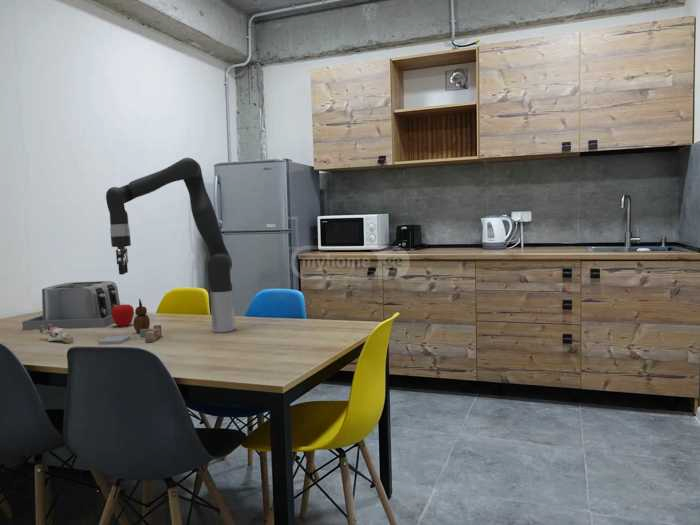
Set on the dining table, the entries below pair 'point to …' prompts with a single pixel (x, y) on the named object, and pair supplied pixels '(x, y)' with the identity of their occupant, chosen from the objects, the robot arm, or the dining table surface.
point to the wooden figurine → (141, 318)
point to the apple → (122, 315)
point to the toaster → (79, 300)
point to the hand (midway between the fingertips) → (123, 273)
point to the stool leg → (153, 334)
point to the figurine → (56, 333)
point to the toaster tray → (67, 323)
